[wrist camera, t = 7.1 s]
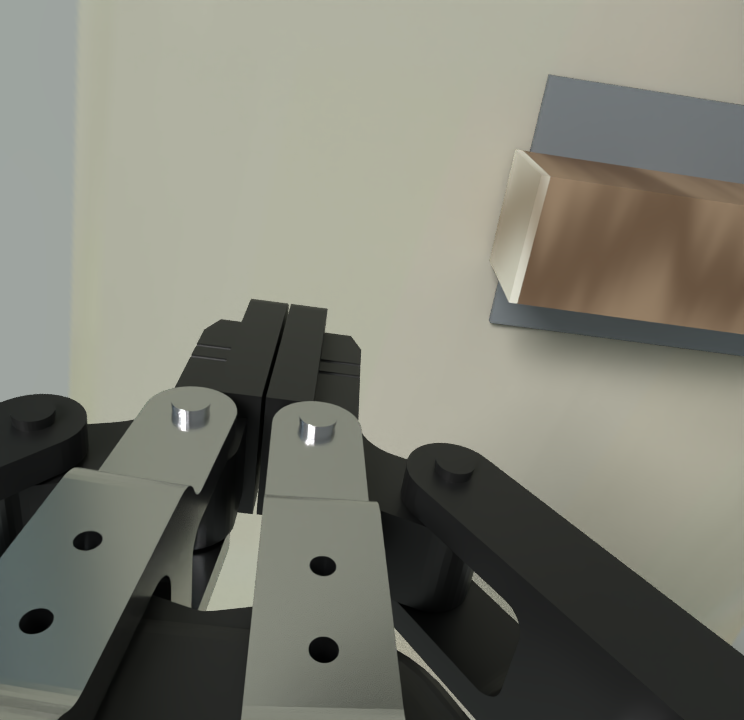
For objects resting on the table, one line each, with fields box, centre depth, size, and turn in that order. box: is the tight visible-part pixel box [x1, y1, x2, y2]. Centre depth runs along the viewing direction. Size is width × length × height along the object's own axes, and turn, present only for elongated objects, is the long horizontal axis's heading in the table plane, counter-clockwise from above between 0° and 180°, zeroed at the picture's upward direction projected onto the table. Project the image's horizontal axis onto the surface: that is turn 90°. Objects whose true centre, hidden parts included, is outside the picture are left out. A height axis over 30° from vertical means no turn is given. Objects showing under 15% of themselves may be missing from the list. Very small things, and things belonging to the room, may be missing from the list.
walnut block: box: [489, 150, 744, 334], centre depth 25 cm, size 4×4×10 cm
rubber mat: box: [489, 75, 744, 356], centre depth 28 cm, size 10×12×1 cm
